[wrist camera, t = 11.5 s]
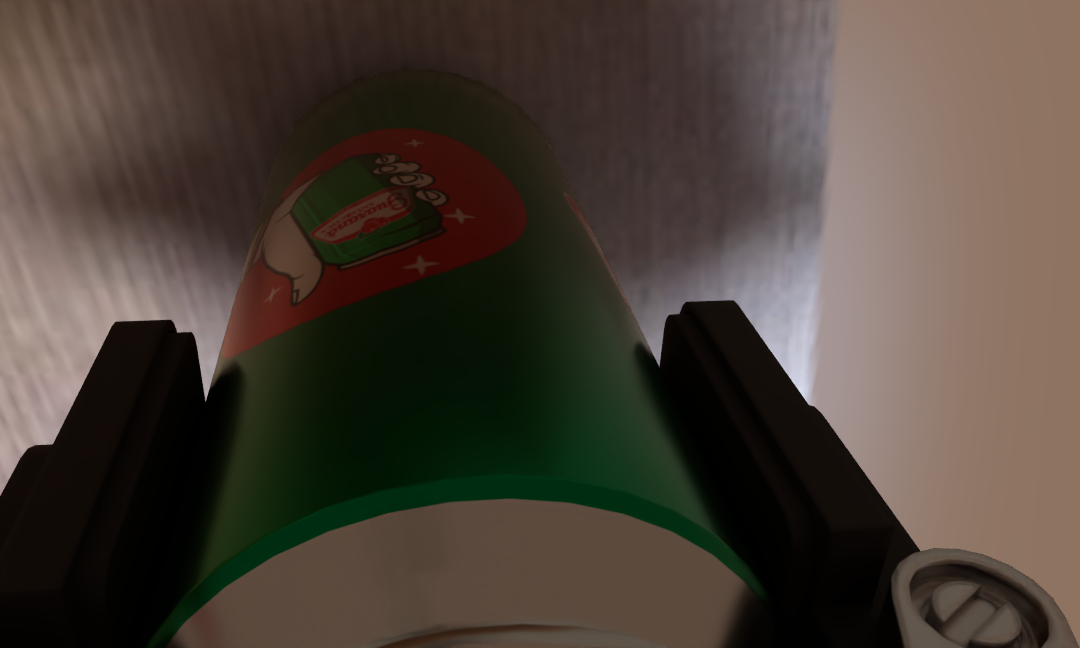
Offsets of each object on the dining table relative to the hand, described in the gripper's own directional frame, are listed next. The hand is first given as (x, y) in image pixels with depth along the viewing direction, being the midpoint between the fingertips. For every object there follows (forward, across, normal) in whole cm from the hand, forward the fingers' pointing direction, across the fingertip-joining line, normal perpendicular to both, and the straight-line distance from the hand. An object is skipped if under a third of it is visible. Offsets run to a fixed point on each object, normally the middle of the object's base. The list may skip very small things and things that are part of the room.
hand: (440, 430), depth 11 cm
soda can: (+7, 0, 0) cm, 7 cm away
